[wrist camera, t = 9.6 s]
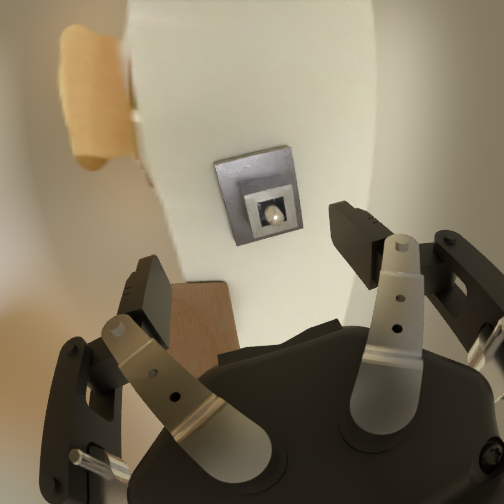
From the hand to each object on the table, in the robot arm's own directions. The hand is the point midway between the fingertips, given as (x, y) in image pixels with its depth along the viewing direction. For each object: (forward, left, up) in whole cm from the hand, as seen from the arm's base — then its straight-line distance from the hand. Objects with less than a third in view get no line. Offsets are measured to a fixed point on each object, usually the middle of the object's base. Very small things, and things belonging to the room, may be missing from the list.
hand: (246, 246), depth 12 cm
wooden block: (+23, -9, -26) cm, 36 cm away
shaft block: (+7, +5, -26) cm, 27 cm away
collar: (+7, +5, -24) cm, 25 cm away
